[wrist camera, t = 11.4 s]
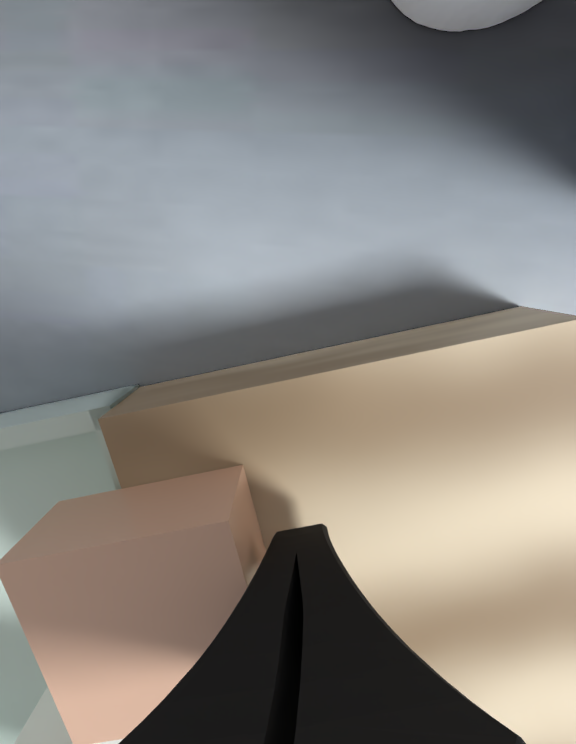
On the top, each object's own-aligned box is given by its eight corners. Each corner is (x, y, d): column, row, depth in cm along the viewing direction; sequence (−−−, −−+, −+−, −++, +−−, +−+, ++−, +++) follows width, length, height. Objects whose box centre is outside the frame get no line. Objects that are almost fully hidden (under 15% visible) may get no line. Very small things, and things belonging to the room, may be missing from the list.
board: (560, 735, 17) (616, 833, 14) (261, 779, 18) (254, 881, 15) (521, 306, 13) (587, 317, 10) (139, 387, 14) (97, 419, 11)
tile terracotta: (285, 624, 12) (283, 713, 10) (117, 653, 12) (73, 746, 10) (243, 464, 11) (228, 520, 9) (58, 501, 11) (-6, 565, 9)
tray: (261, 781, 18) (257, 852, 15) (9, 818, 18) (-28, 891, 16) (138, 383, 14) (109, 405, 12) (-177, 450, 14) (-259, 482, 12)
